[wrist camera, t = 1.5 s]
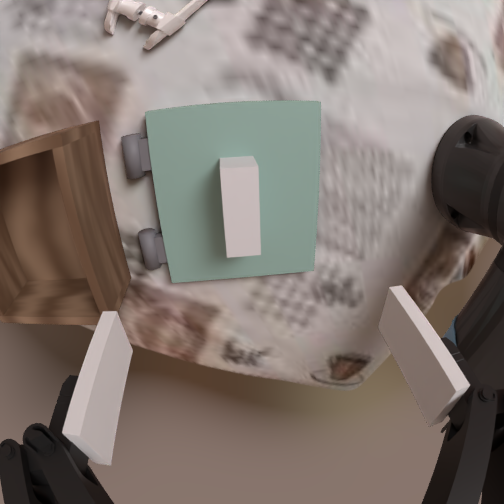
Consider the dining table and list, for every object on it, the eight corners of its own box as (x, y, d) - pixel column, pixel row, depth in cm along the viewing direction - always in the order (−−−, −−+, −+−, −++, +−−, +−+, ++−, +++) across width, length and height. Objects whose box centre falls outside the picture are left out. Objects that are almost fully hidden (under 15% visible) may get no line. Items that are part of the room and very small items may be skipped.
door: (315, 101, 26) (336, 104, 21) (309, 263, 35) (323, 292, 30) (122, 115, 25) (101, 122, 20) (151, 276, 34) (142, 307, 29)
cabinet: (98, 120, 25) (47, 138, 16) (131, 277, 34) (108, 339, 25) (-32, 162, 23) (-84, 192, 15) (8, 284, 32) (-25, 331, 24)
